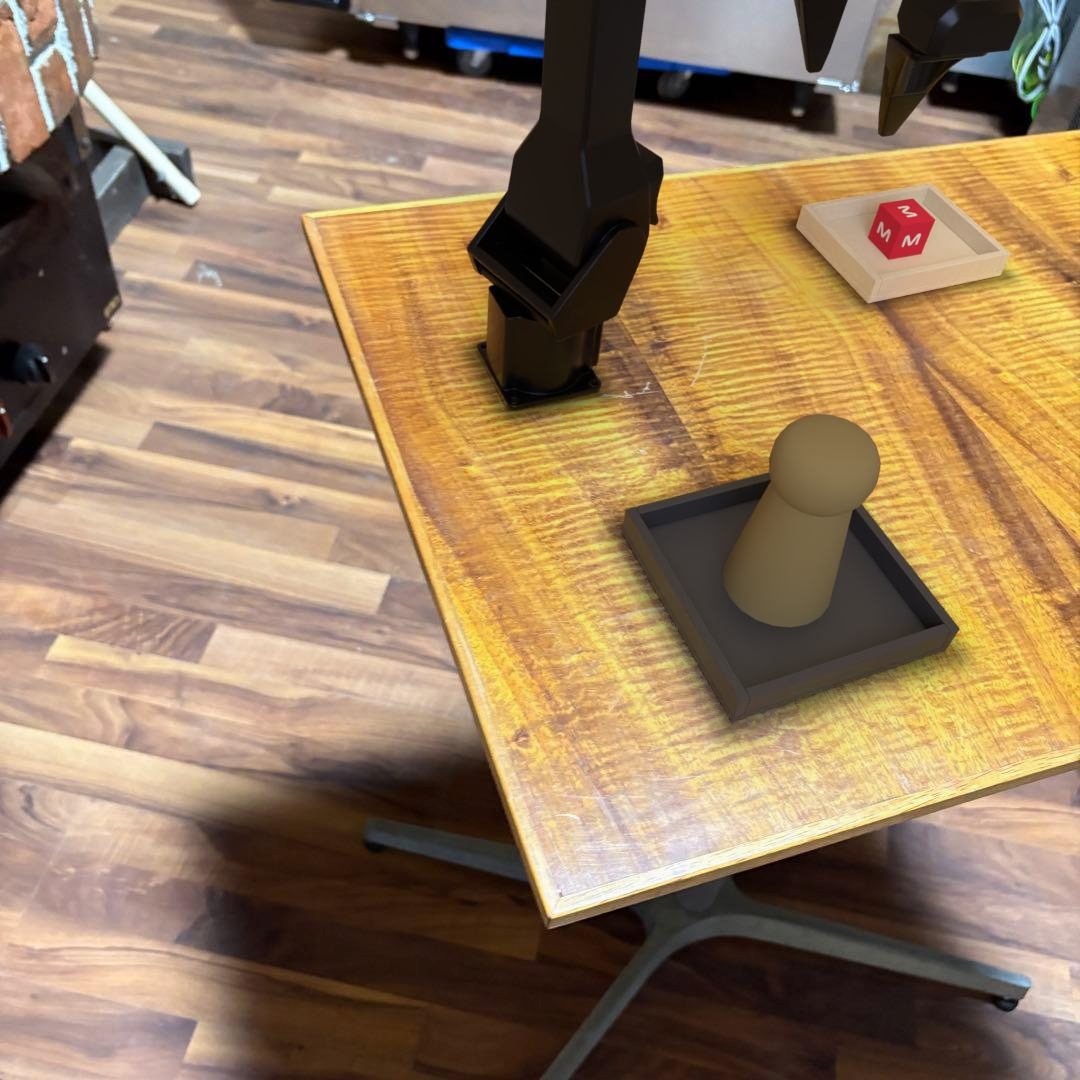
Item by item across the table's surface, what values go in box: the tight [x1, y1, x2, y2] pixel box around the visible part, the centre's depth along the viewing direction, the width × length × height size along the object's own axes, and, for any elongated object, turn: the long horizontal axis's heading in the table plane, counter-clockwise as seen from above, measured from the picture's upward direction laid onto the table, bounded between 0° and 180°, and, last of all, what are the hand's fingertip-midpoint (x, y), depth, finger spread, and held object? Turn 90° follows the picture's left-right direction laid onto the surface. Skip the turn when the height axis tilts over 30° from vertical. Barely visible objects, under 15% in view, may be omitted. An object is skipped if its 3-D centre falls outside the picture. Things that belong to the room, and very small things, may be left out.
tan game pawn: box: [723, 413, 882, 627], centre depth 52 cm, size 6×6×11 cm
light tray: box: [795, 182, 1012, 304], centre depth 79 cm, size 12×10×2 cm
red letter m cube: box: [868, 198, 935, 260], centre depth 78 cm, size 3×3×3 cm
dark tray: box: [621, 471, 961, 723], centre depth 56 cm, size 13×13×2 cm
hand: (848, 102), depth 70 cm, fingers open, 9 cm apart
